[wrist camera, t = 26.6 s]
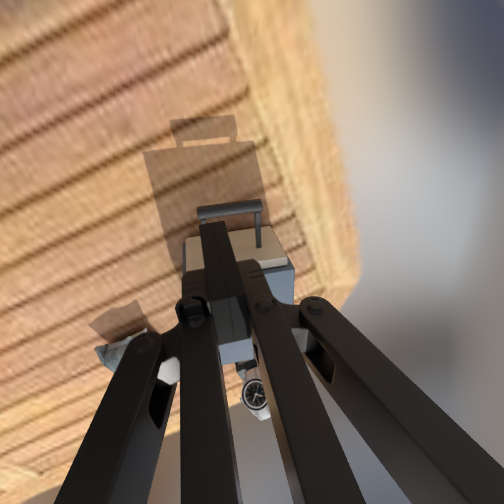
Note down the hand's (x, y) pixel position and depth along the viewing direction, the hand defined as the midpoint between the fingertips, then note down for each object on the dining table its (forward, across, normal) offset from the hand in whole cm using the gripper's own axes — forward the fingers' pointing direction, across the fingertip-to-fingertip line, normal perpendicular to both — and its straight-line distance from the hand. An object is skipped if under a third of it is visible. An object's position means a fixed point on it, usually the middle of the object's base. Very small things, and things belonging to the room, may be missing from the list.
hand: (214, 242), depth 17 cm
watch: (+19, +4, -38) cm, 43 cm away
